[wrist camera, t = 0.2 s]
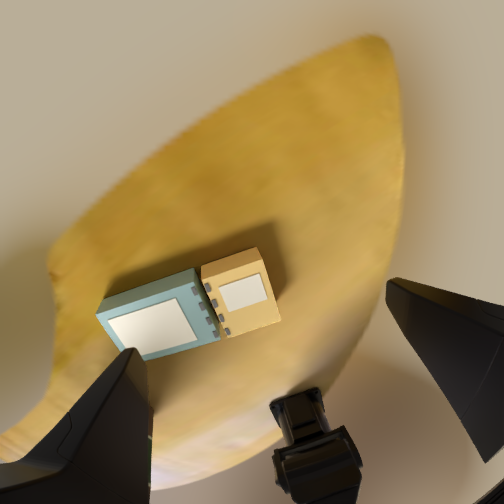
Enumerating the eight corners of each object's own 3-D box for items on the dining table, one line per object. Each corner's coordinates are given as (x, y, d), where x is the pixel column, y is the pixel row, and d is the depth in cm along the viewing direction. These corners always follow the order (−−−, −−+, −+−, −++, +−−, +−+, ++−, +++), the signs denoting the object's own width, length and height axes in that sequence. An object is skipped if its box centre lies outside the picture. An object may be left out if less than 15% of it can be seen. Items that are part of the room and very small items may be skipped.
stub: (275, 304, 26) (281, 321, 24) (225, 321, 26) (228, 339, 23) (256, 246, 23) (262, 259, 21) (201, 265, 23) (201, 280, 21)
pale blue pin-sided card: (218, 322, 26) (220, 340, 24) (133, 347, 26) (130, 365, 23) (193, 267, 23) (193, 282, 21) (102, 299, 23) (95, 315, 21)
